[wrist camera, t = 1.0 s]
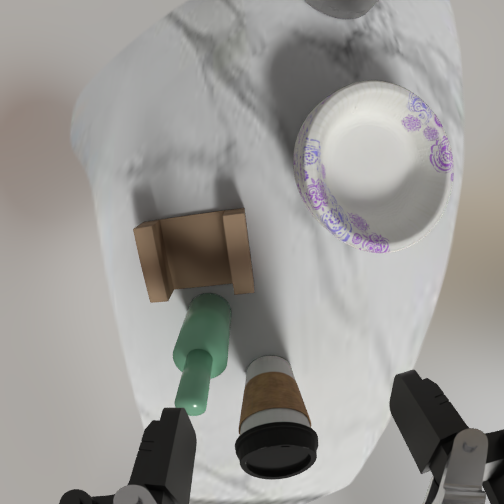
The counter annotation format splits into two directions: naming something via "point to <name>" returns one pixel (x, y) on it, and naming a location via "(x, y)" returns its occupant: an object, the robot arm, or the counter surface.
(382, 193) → the paper bowls
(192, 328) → the bottle
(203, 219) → the cradle
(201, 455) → the counter surface
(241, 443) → the coffee cup
